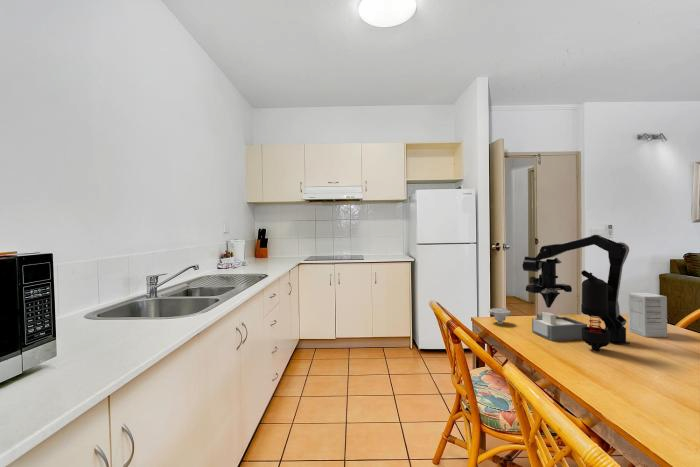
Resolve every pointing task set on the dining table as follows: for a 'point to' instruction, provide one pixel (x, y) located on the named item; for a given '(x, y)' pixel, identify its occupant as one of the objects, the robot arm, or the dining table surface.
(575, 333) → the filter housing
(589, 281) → the black tall rounded body
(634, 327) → the supplement box
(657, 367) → the dining table surface
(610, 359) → the dining table surface
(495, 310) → the showerhead
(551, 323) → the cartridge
